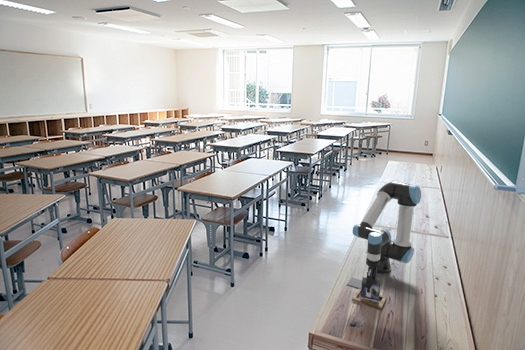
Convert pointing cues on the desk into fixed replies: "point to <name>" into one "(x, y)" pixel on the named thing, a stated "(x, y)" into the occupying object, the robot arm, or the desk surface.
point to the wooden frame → (379, 307)
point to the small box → (374, 290)
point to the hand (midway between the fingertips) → (370, 293)
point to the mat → (355, 283)
